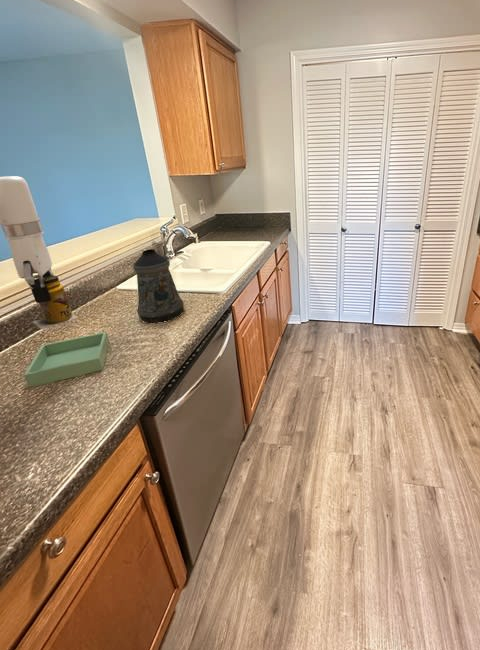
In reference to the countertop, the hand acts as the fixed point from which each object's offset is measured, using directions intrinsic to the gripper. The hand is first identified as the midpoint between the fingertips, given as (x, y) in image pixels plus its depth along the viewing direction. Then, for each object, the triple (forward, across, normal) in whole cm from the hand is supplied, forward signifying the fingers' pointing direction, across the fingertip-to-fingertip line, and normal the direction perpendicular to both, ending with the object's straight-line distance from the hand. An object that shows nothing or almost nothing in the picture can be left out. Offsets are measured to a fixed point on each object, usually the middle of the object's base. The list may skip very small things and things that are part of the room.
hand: (47, 296), depth 86 cm
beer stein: (+23, -27, +24) cm, 43 cm away
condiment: (+7, 0, 0) cm, 7 cm away
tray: (+23, -3, -1) cm, 23 cm away
